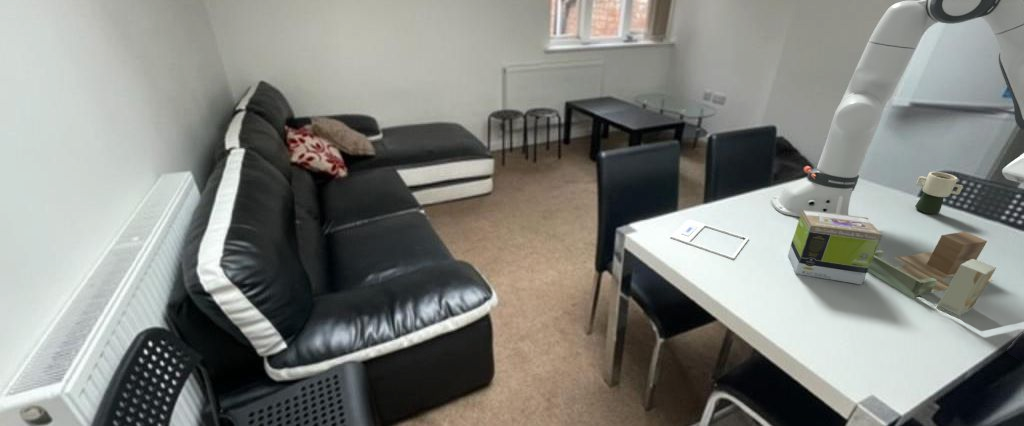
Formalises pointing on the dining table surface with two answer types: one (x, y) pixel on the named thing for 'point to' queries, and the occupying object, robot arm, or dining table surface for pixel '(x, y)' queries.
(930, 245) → the dining table surface
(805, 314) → the dining table surface
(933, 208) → the cream and green cup
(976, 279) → the skincare box
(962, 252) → the walnut block
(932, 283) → the wooden slotted tray
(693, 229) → the photo frame
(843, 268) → the tea box
